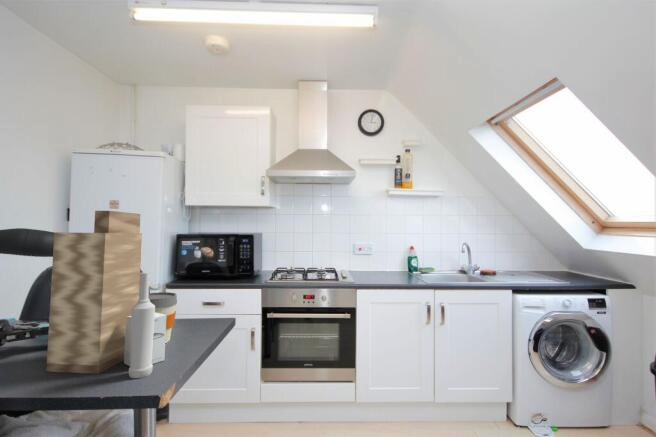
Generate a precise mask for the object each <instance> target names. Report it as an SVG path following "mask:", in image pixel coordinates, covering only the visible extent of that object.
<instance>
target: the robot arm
mask: <svg viewBox="0 0 656 437" xmlns="http://www.w3.org/2000/svg"><path fill="white" fill-rule="evenodd" d="M54 232H55V231H47V230H43V229H42V230H41V229H33V228H24V227H21V228H19V227H18V228H17V227H16V228H14V227H13V228H5V229H0V255H11V256H12V255H13V256H22V257H36V258H37V257H38V258H40V257H41V258H53V248H54ZM45 323H48V322H47V320H35V321H33V320H32V321H30V320H29V321H24V322H18V323H16V324H15V325H14V324H13V325H11V324H10V322H9V320H8V319H6V318H5V319H3V318H2V319H0V347H3V346H5V345H6V344H7V343H12V342H20V341H25V340H26V341H27V340H30V339H31V340H32V339H34V340H35V338H36V337H38V336H40V335H47V334H49V326H47V327H38V326H39V325H40V324H45Z"/></svg>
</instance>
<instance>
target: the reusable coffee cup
mask: <svg viewBox="0 0 656 437" xmlns="http://www.w3.org/2000/svg"><path fill="white" fill-rule="evenodd" d="M139 296H140V294H139ZM177 296H178V295H177V293H175V292H170V291H169V292H168V291H167V292H163V291H162V292H161V291H160V292H149V295H148V299H150V302H151V303H152V304H153V305H155V312H156V313H161V314H165V315H166V336H165V343H167V342H168V341H169V340H170V341H171V334H172V330H173V327H174V325H175V320H176V315H177V311H176V306H177V303H178V298H177ZM170 341H169V342H170ZM167 344H168V343H167Z"/></svg>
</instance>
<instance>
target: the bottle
mask: <svg viewBox="0 0 656 437" xmlns="http://www.w3.org/2000/svg"><path fill="white" fill-rule="evenodd" d="M150 274H151V273H150V272H140V288H139V295H140V296H139V300H138V303H136V304H135V305H134V306H133V307H132V308H131V353H130V366H129V368H128V376H129V378H131V379H141V378H145V377H148V376H150V375H151V374H152V372H153V370H154V364H152V349H153V333H154V318H155V305H153V304H152V303H151V302H150V299H148V295H149V293H150V292H149V290H150V289H149V288H150Z"/></svg>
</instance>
